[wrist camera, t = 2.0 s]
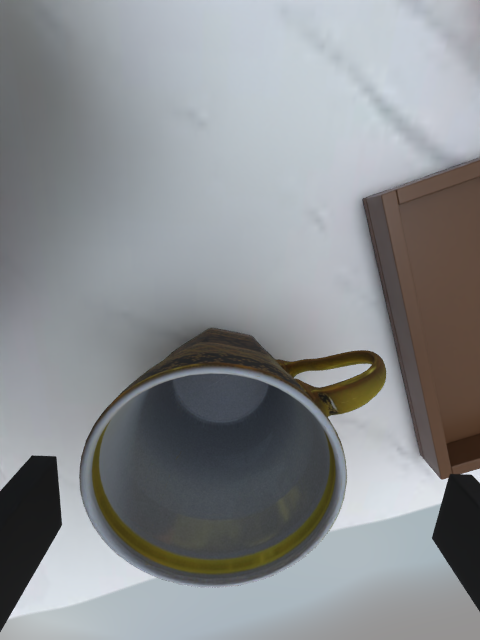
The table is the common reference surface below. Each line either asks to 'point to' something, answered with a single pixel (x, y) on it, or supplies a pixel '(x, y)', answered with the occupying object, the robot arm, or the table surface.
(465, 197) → the tray
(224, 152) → the table surface
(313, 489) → the ceramic cup
